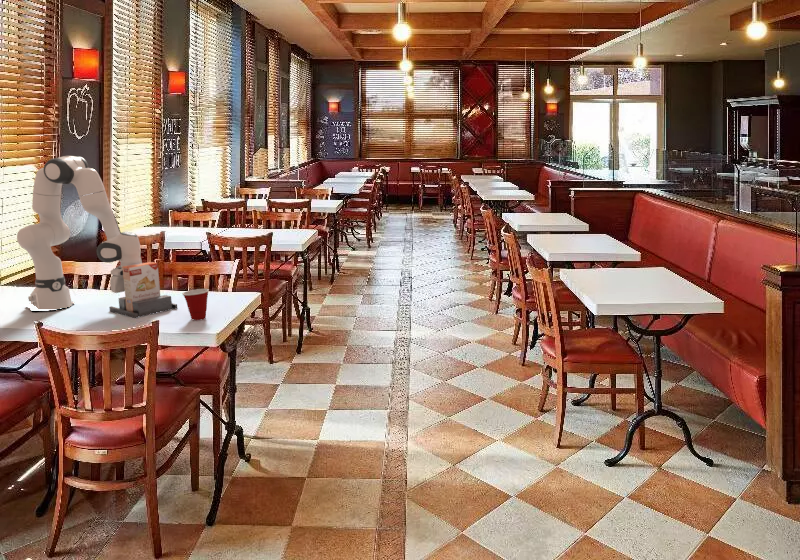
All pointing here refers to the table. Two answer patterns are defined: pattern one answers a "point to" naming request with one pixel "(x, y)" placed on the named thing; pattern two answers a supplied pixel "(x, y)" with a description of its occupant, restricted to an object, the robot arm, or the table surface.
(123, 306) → the block
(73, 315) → the table surface
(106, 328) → the table surface
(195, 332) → the table surface
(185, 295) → the plastic cup
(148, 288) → the cracker box
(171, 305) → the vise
